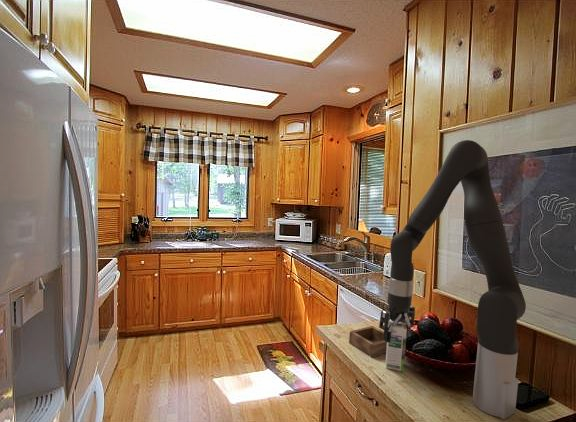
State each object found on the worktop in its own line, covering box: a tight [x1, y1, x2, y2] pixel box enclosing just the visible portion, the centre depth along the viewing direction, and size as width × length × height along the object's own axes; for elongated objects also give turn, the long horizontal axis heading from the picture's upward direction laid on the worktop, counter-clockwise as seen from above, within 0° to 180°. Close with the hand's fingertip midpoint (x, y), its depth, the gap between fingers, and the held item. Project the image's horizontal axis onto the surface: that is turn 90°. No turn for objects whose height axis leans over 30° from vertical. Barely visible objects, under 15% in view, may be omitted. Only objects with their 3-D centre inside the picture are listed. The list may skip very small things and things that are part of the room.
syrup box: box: [385, 319, 407, 372], centre depth 109 cm, size 6×6×14 cm
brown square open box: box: [348, 325, 387, 359], centre depth 122 cm, size 12×12×4 cm
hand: (395, 338), depth 109 cm, fingers open, 8 cm apart
